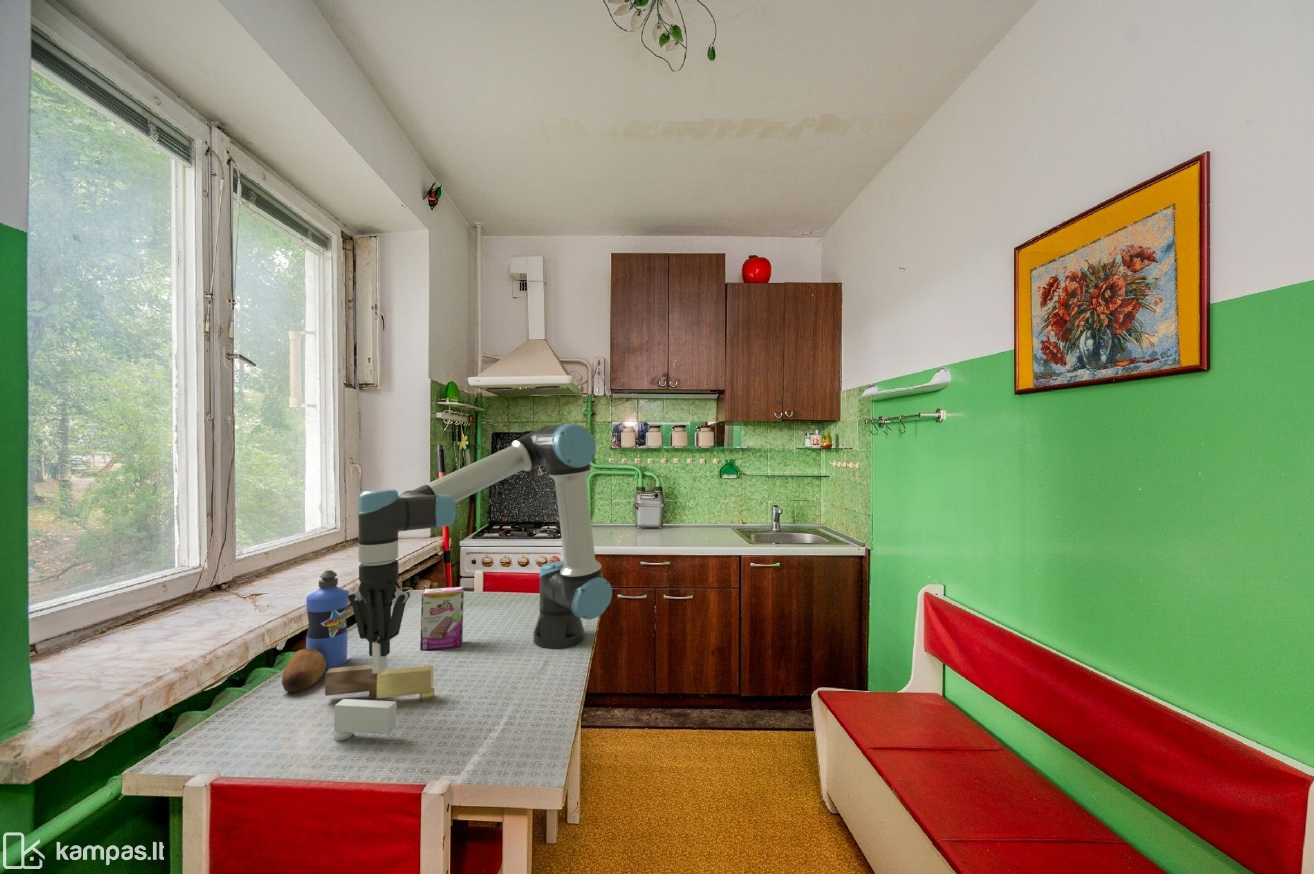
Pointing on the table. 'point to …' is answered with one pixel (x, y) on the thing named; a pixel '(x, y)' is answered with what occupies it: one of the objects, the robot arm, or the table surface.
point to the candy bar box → (442, 618)
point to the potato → (303, 670)
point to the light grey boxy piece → (363, 717)
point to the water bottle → (328, 620)
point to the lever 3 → (406, 682)
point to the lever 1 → (351, 680)
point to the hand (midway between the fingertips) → (379, 670)
